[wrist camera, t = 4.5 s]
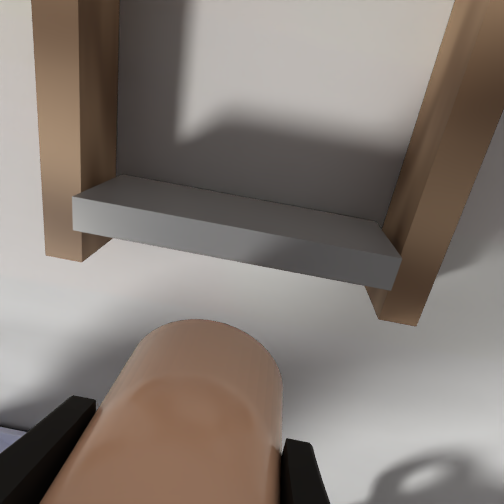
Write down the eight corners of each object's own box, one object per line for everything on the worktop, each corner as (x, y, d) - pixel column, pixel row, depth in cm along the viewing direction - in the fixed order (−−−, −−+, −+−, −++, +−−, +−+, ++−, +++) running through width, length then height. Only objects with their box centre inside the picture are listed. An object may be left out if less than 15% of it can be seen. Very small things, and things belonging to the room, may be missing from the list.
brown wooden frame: (396, 290, 17) (445, 379, 12) (83, 231, 18) (-10, 290, 12) (562, -172, 11) (829, -437, 6) (77, -250, 12) (-118, -571, 6)
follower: (367, 247, 16) (391, 290, 12) (121, 201, 16) (72, 230, 13) (375, 221, 16) (402, 258, 12) (122, 174, 16) (72, 196, 12)
